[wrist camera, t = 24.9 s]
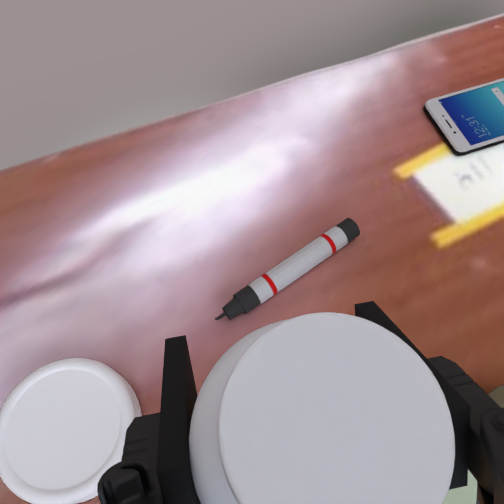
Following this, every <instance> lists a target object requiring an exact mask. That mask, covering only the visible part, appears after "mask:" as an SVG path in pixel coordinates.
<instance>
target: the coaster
mask: <svg viewBox="0 0 504 504" xmlns="http://www.w3.org/2000/svg"><path fill="white" fill-rule="evenodd" d="M140 416H142V415H141V409H140V405H139V402H138V399H137V396H136V394H135V392H134V390H133V389H132V387H131V386H130V385H129V383H128V382H127V381H126V380H125V379H124V378H123V377H122V376H120V375H119V374H118V373H117V372H116V371H114V370H113V369H112V368H110V367H109V366H107V365H105V364H103V363H101V362H98V361H96V360H92V359H87V358H67V359H62V360H58V361H55V362H51V363H49V364H46V365H44V366H42V367H40V368H38V369H37V370H35V371H33V372H32V373H30V374H29V375H28V376H27V377H25V378H24V379H23V380H22V381H21V382H20V383H19V384H18V385H17V386H16V387H15V388H14V389H13V390H12V392H11V393H10V394H9V396H8V397H7V399H6V400H5V402H4V404H3V406H2V407H1V409H0V477H1V478H2V480H3V482H4V483H5V484H6V485H7V487H8V488H9V489H10V490H11V491H12V492H13V493H14V494H15V495H17V496H18V497H20V498H21V499H23V500H25V501H27V502H29V503H32V504H76V503H81V502H84V501H87V500H89V499H92V498H94V497H96V496H98V493H97V485H98V482H99V480H100V478H101V476H102V475H103V474H104V473H105V472H106V471H107V470H108V469H109V468H110V467H112V466H113V465H115V464H117V463H118V462H121V460H122V455H123V448H124V445H125V443H124V442H125V436H126V430H127V428H128V427H129V425H130V424H131V422H132V421H133V419H134V418H135V417H140Z"/></svg>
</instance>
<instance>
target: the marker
mask: <svg viewBox="0 0 504 504" xmlns="http://www.w3.org/2000/svg"><path fill="white" fill-rule="evenodd" d="M359 234H360V230H359V227H358V226H357V224H356V223H355V222H354V221H353V220H352V219H350V218H347V219H345V220H344V221H342V222H341V223H339V224H338V225H336V226H334V227H333V228H331V229H330V230H328V231H327V232H325V233H324V234H322V235H321V236H319V237H318V238H316V239H315V240H313V241H312V242H311V243H309V244H308V245H306V246H305V247H303V248H302V249H300V250H299V251H297V252H296V253H294V254H293V255H291V256H290V257H288V258H287V259H285V260H284V261H282V262H281V263H279V264H278V265H277V266H275V267H274V268H272V269H271V270H269V271H268V272H266V273H265V274H263V275H262V276H260V277H259V278H257V279H256V280H254V281H253V282H251V283H250V284H248V285H247V286H246V287H245V288H243V289H242V290H240V291H239V292H237V293H236V294H234V295H233V297H234V299H232V300H231V301H230V302H229V303H228V304H227V305H225V306H224V307H223V308H222V309H223V311H224V313H222V314H221V315H220V316H218V317H217V318H215V320H219V319H221V318H222V317H224V316H225V315H226V316H227V317H228V318H229V319H232V318H234V317H235V316H237V315H239V314H241V313H243V312H244V313H245V314H246V313H248V312H249V311H251V310H252V309H254V308H255V307H256V306H258V305H259V304H262V303H263V302H265V301H266V300H267V299H269V298H270V297H272V296H273V295H275V294H276V293H277V292H279V291H280V290H282V289H283V288H285V287H286V286H287V285H289V284H290V283H292V282H293V281H295V280H296V279H298V278H299V277H300V276H302V275H303V274H305V273H306V272H308V271H309V270H310V269H312V268H313V267H315V266H316V265H318V264H319V263H321V262H322V261H323V260H325V259H326V258H328V257H329V256H331V255H332V254H333V253H335V252H336V251H338V250H339V249H341V248H342V247H344V246H345V245H346V244H347V243H348V242H350V241H351V240H353V239H354V238H356V237H357V236H359Z"/></svg>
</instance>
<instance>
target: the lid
mask: <svg viewBox="0 0 504 504" xmlns="http://www.w3.org/2000/svg"><path fill="white" fill-rule="evenodd" d="M476 498H477V480H476V479H475V478H474V476H473V475H472V474H471V472H470V471H469V470H468V483H467V486H464V487H459V488H455V489H451V490H448V493H447V495H446V498H445V500H444V502H443V504H476Z"/></svg>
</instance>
